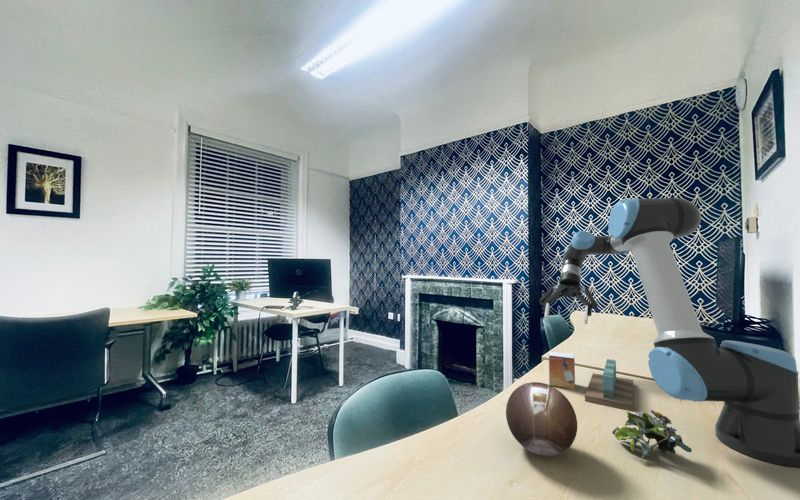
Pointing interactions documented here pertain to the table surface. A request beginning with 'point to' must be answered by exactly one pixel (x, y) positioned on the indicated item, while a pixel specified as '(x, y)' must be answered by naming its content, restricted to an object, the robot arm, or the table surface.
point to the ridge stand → (610, 388)
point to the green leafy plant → (650, 432)
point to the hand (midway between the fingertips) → (565, 320)
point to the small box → (562, 370)
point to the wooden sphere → (541, 419)
